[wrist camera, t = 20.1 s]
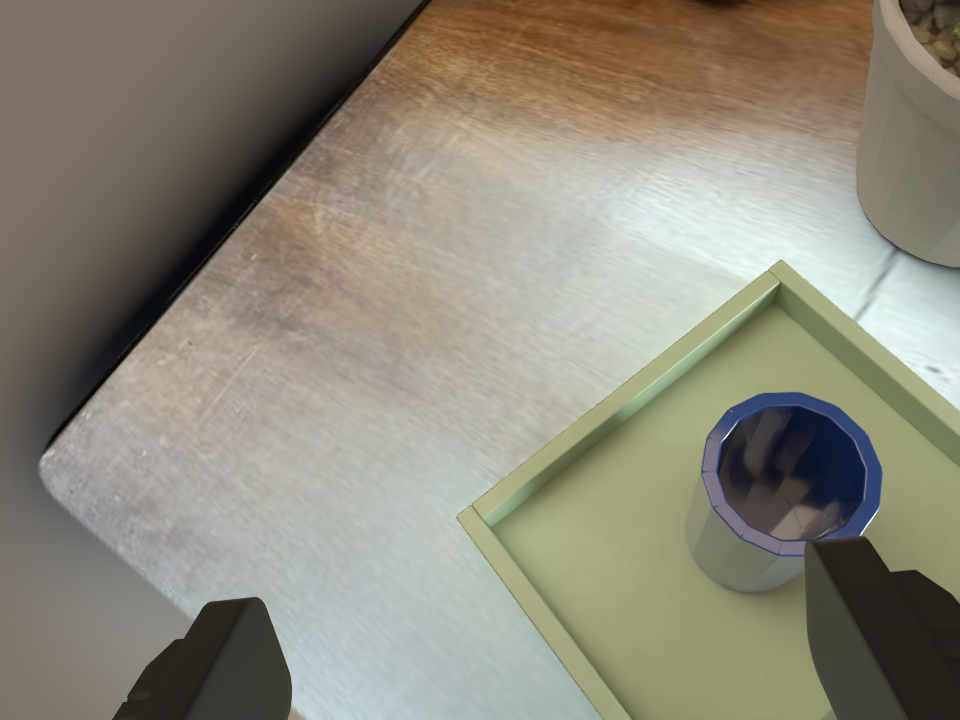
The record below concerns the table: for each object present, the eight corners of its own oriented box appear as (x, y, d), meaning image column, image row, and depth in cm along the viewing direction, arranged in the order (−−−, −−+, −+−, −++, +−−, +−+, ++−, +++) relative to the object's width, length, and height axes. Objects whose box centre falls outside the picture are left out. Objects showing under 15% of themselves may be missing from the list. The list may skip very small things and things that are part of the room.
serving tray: (704, 851, 27) (710, 867, 25) (468, 527, 33) (454, 516, 31) (1060, 540, 28) (1098, 528, 26) (771, 286, 35) (781, 258, 32)
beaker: (745, 620, 29) (791, 595, 20) (659, 522, 31) (666, 458, 22) (837, 543, 29) (923, 483, 20) (746, 451, 31) (788, 359, 22)
